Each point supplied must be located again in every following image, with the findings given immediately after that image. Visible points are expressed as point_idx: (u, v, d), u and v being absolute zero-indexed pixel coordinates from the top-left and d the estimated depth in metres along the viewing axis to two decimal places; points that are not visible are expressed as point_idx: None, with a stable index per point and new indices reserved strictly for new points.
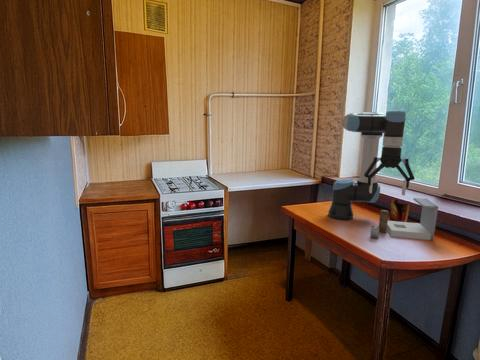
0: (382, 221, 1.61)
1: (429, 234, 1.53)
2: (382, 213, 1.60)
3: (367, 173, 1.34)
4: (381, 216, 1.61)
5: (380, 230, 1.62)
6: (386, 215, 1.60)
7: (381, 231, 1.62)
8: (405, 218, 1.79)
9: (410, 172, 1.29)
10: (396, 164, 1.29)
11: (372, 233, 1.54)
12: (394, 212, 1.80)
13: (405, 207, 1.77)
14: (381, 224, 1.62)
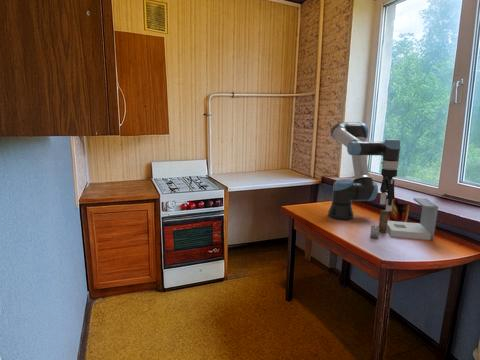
0: (382, 221, 1.61)
1: (429, 234, 1.53)
2: (382, 213, 1.60)
3: None
4: (381, 216, 1.61)
5: (380, 230, 1.62)
6: (386, 215, 1.60)
7: (381, 231, 1.62)
8: (405, 218, 1.78)
9: (388, 191, 1.51)
10: (385, 183, 1.56)
11: (372, 233, 1.54)
12: (394, 212, 1.80)
13: (405, 207, 1.77)
14: (381, 224, 1.62)
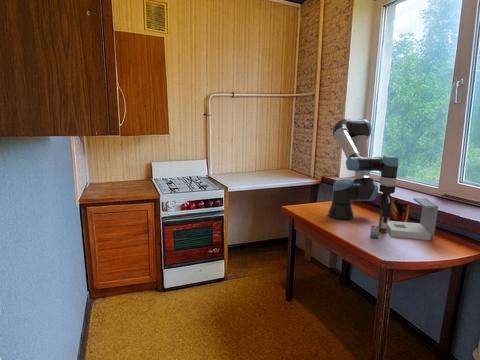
0: None
1: (429, 234, 1.53)
2: (382, 213, 1.60)
3: (380, 208, 1.66)
4: (381, 216, 1.61)
5: (380, 230, 1.62)
6: None
7: (381, 231, 1.62)
8: (405, 218, 1.78)
9: (384, 210, 1.56)
10: (383, 199, 1.59)
11: (372, 233, 1.54)
12: (394, 212, 1.80)
13: (405, 207, 1.77)
14: None
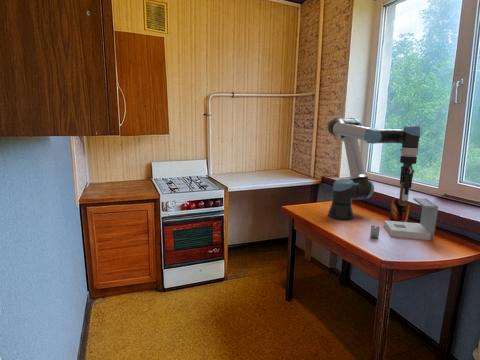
0: None
1: (429, 234, 1.53)
2: (403, 185, 1.57)
3: (400, 180, 1.63)
4: (402, 188, 1.58)
5: (401, 203, 1.59)
6: None
7: (402, 204, 1.59)
8: (405, 218, 1.78)
9: (406, 181, 1.53)
10: (404, 170, 1.56)
11: (372, 233, 1.54)
12: (394, 212, 1.80)
13: (405, 207, 1.76)
14: None
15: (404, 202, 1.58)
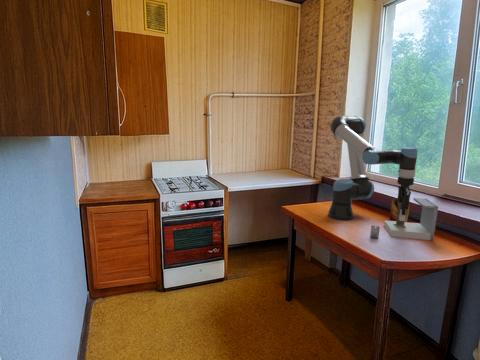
0: None
1: (429, 234, 1.53)
2: (400, 206, 1.59)
3: (397, 200, 1.65)
4: (399, 209, 1.60)
5: (398, 223, 1.61)
6: None
7: (399, 224, 1.61)
8: (405, 218, 1.78)
9: (403, 202, 1.55)
10: (401, 191, 1.58)
11: (372, 233, 1.54)
12: (394, 212, 1.80)
13: None
14: None
15: (401, 222, 1.61)
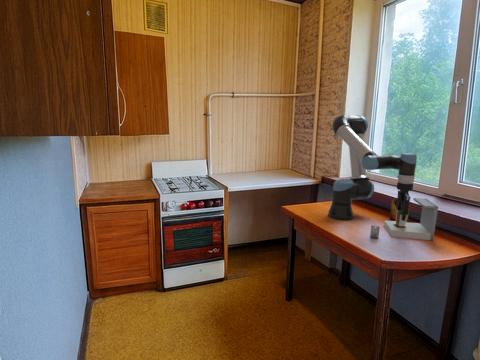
0: (399, 221, 1.61)
1: (429, 234, 1.53)
2: (399, 213, 1.61)
3: (396, 204, 1.67)
4: (398, 216, 1.61)
5: None
6: None
7: None
8: None
9: (403, 207, 1.55)
10: (400, 197, 1.58)
11: (372, 233, 1.54)
12: (394, 212, 1.79)
13: None
14: (398, 224, 1.62)
15: None
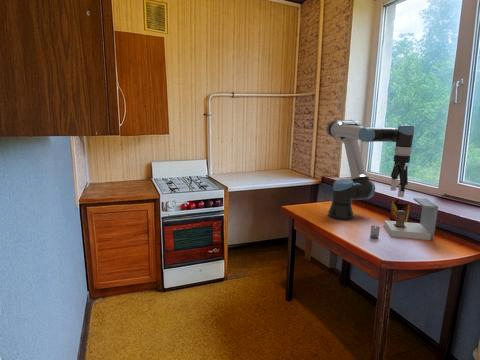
0: (399, 221, 1.61)
1: (429, 234, 1.53)
2: (399, 213, 1.60)
3: (391, 174, 1.68)
4: (398, 216, 1.61)
5: None
6: (403, 215, 1.60)
7: None
8: (405, 218, 1.78)
9: (401, 177, 1.51)
10: (398, 169, 1.56)
11: (372, 233, 1.54)
12: (394, 212, 1.79)
13: (405, 207, 1.76)
14: (398, 224, 1.62)
15: None
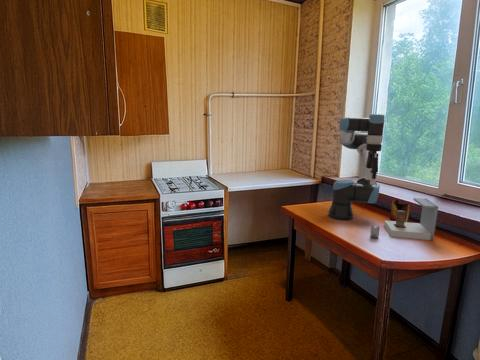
0: (399, 221, 1.61)
1: (429, 234, 1.53)
2: (399, 213, 1.60)
3: (366, 163, 1.71)
4: (398, 216, 1.61)
5: None
6: (403, 215, 1.60)
7: None
8: (406, 218, 1.78)
9: (372, 165, 1.54)
10: (370, 157, 1.60)
11: (372, 233, 1.54)
12: (394, 212, 1.79)
13: (406, 207, 1.76)
14: (398, 224, 1.61)
15: None
